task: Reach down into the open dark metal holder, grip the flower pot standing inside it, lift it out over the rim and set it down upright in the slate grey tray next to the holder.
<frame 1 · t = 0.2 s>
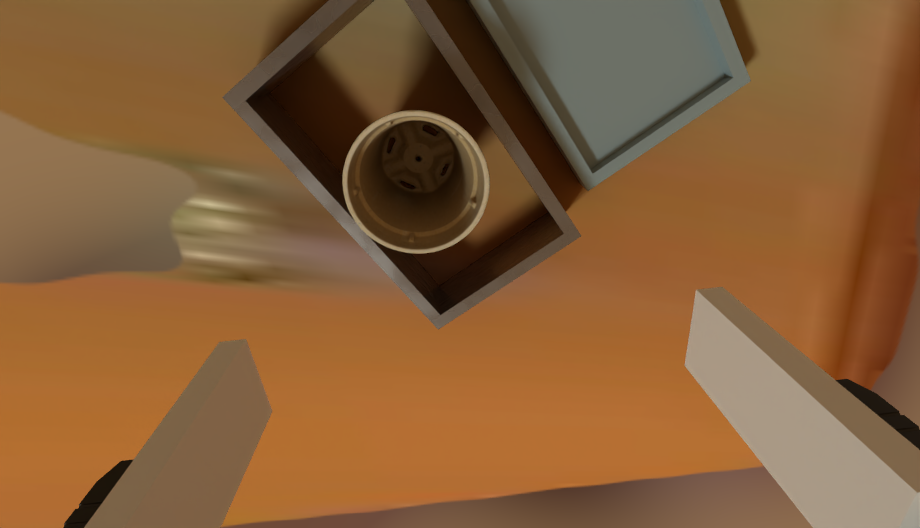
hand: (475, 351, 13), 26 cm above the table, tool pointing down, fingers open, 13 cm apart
tray: (596, 21, 33), on the table
metal holder: (419, 157, 37), on the table
flower pot: (419, 156, 37), resting in metal holder
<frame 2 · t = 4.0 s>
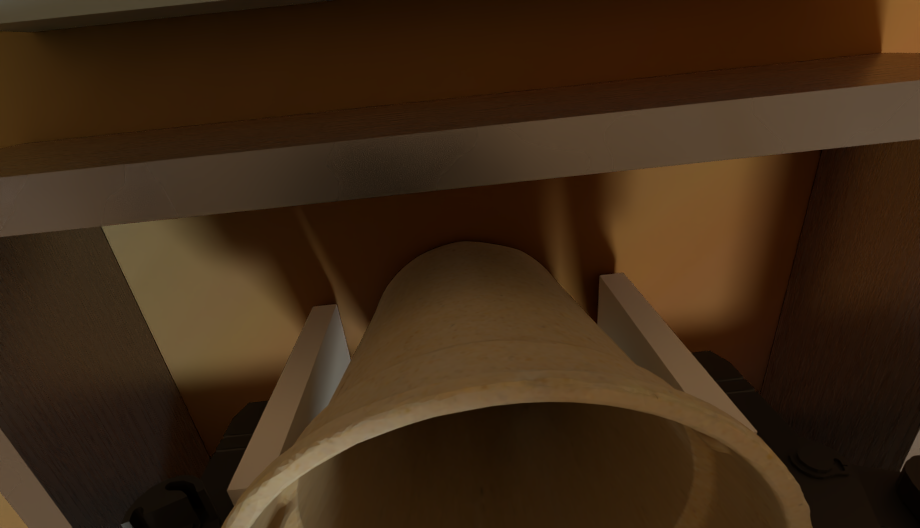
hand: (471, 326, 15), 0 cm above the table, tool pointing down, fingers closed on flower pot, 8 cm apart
metal holder: (474, 320, 15), on the table
flower pot: (471, 318, 15), resting in metal holder, touching gripper
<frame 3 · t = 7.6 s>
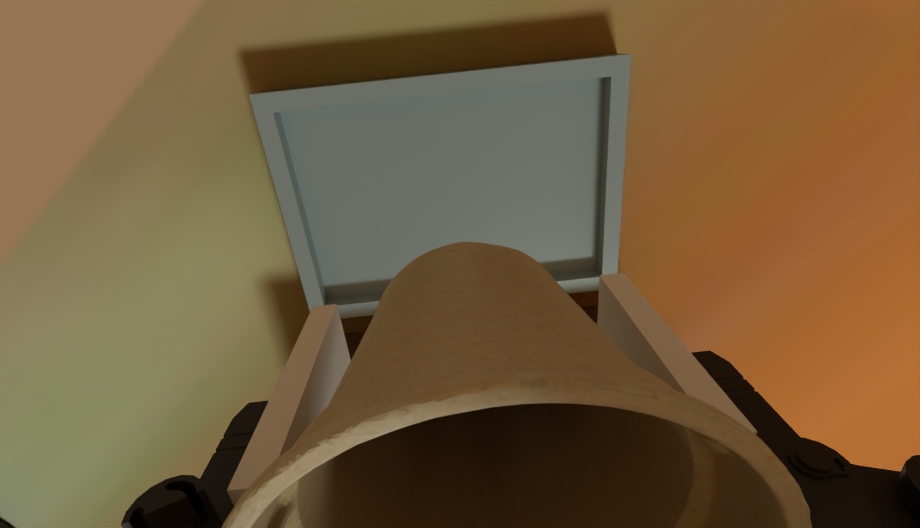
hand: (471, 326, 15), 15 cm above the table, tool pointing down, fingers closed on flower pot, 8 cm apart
tray: (452, 193, 28), on the table
metal holder: (474, 395, 35), on the table
flower pot: (471, 318, 15), point 15 cm above the table, touching gripper
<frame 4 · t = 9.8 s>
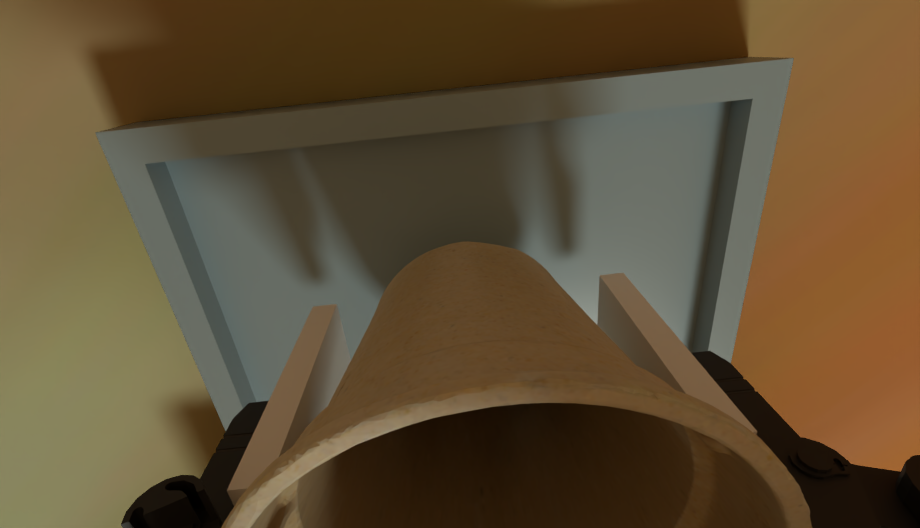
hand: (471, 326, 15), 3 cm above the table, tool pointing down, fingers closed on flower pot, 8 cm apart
tray: (464, 279, 18), on the table
flower pot: (471, 318, 15), point 3 cm above the table, touching gripper
when the fingers open (2 cm above the table, at t = 11.3 s): flower pot stays where it is, resting on tray.
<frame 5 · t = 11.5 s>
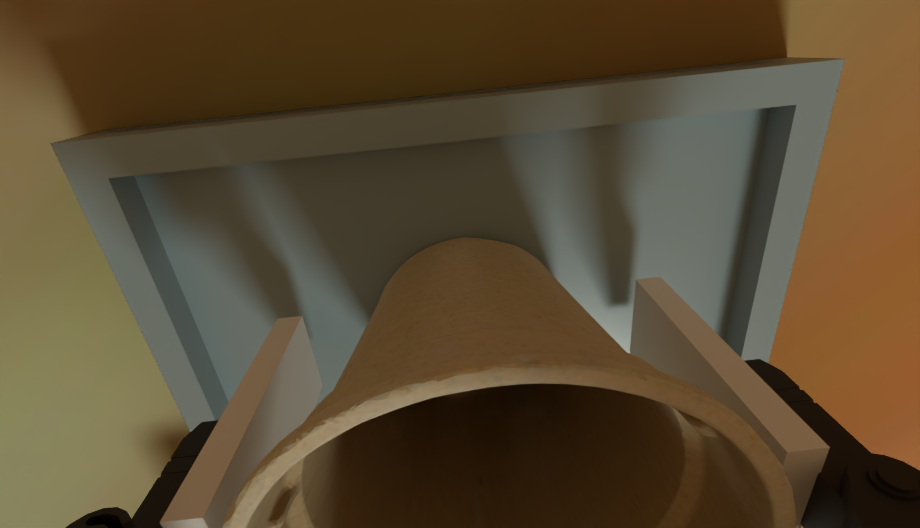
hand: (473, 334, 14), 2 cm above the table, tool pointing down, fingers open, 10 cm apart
tray: (468, 301, 16), on the table
flower pot: (471, 313, 15), point 1 cm above the table, touching tray
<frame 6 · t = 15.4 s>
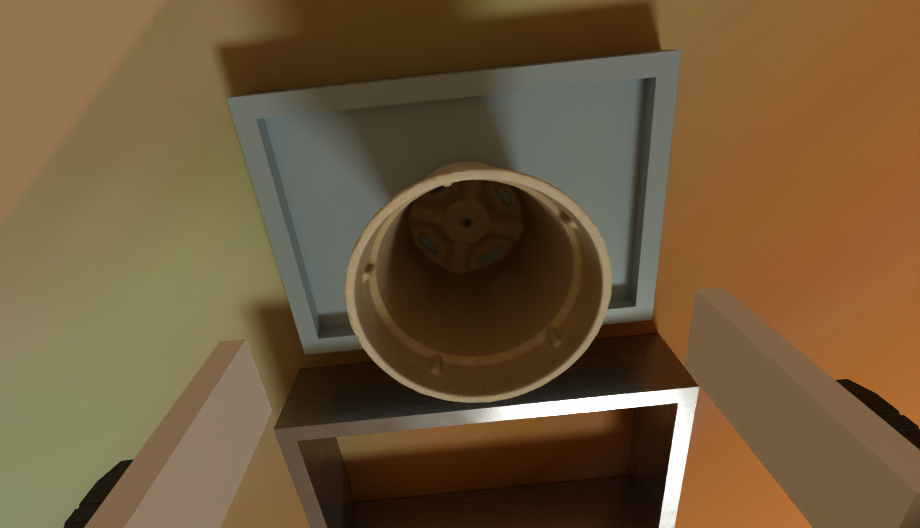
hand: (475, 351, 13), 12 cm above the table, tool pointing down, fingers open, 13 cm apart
tray: (465, 210, 25), on the table
metal holder: (486, 431, 32), on the table
flower pot: (466, 215, 24), point 1 cm above the table, touching tray
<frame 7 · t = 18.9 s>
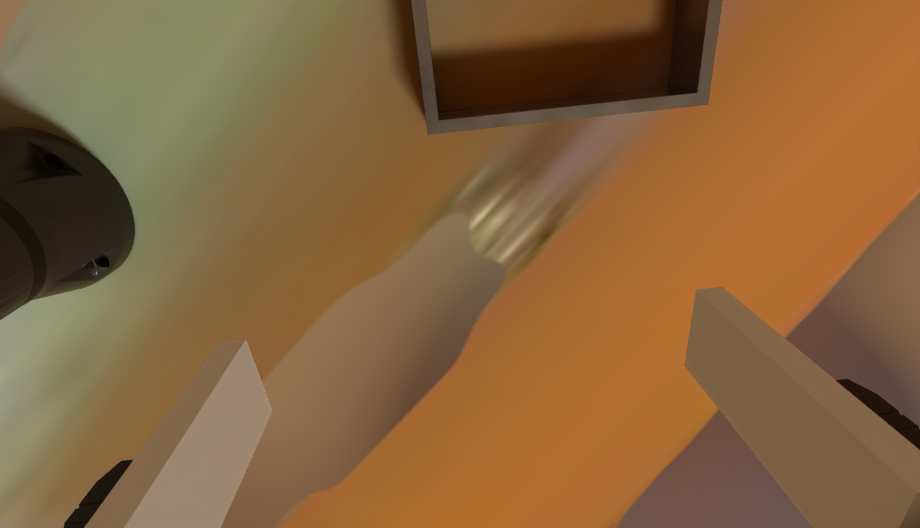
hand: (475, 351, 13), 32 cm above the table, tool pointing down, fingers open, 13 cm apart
metal holder: (553, 25, 38), on the table
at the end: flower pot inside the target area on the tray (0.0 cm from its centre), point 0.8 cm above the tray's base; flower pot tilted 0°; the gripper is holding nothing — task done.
